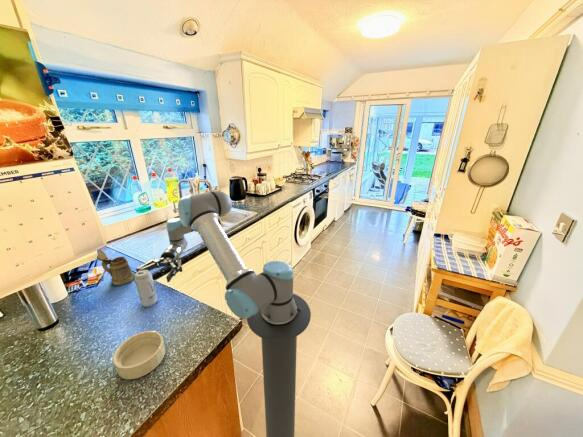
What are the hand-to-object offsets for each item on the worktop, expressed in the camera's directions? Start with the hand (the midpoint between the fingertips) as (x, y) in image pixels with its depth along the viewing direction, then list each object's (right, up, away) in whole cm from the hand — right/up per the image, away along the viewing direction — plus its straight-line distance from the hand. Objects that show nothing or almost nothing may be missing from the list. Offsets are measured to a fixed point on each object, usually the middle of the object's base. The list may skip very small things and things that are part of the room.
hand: (151, 280), depth 101 cm
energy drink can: (0, -9, -2) cm, 9 cm away
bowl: (+13, -19, -26) cm, 35 cm away
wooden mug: (-23, -3, +13) cm, 27 cm away
